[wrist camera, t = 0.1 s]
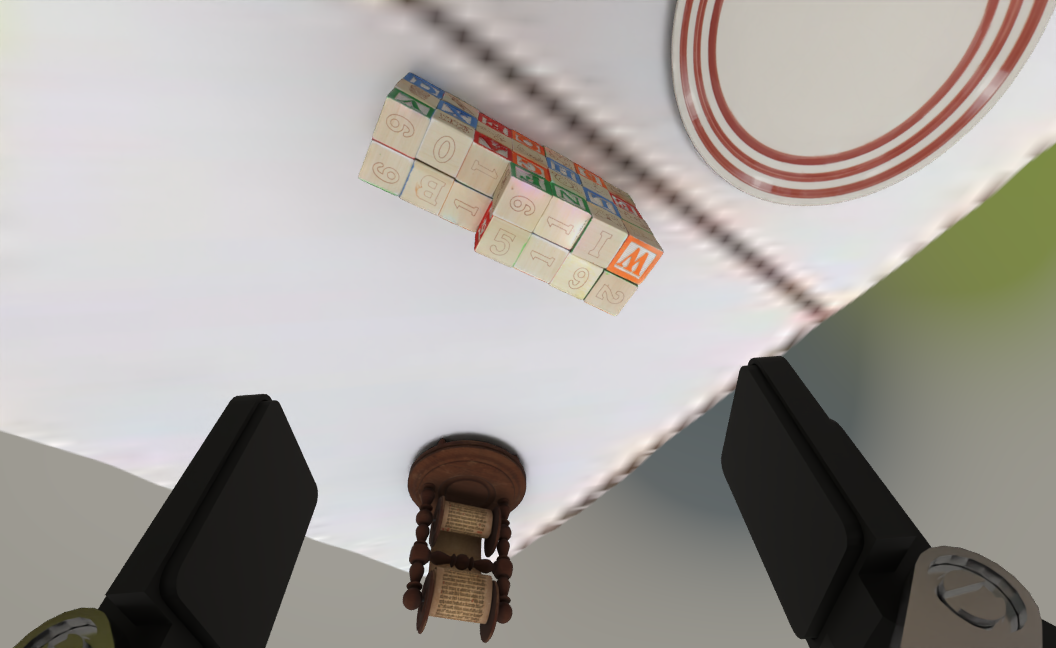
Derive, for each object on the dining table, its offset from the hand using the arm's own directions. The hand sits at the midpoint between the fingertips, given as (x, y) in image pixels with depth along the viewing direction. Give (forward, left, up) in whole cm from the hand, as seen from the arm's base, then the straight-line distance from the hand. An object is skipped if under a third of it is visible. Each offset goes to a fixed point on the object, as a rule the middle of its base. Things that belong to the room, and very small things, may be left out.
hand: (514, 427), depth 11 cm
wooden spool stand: (+32, -33, -38) cm, 59 cm away
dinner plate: (+12, +23, -38) cm, 46 cm away
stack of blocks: (+5, -4, -38) cm, 38 cm away
